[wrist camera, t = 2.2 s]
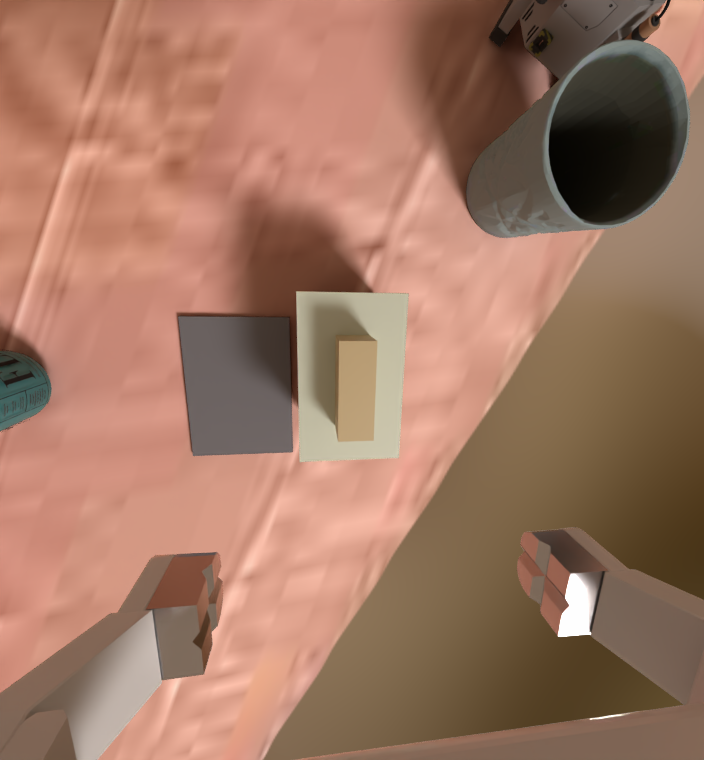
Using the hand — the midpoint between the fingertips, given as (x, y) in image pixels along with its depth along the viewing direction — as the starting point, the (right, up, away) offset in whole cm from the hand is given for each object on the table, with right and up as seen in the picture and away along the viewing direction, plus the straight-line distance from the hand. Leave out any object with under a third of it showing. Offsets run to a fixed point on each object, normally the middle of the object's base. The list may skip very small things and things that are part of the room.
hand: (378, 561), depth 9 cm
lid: (-1, +5, +18) cm, 19 cm away
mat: (-12, +4, +25) cm, 28 cm away
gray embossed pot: (+14, +23, +24) cm, 36 cm away
